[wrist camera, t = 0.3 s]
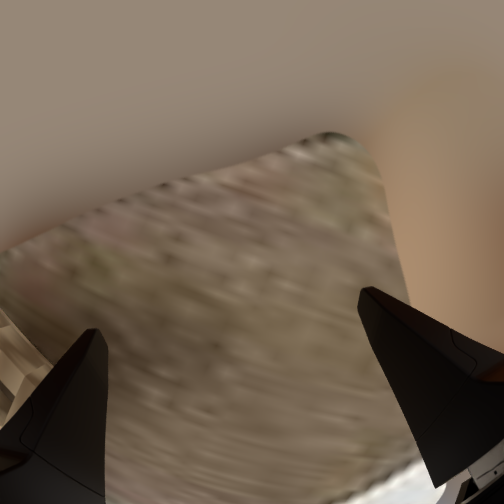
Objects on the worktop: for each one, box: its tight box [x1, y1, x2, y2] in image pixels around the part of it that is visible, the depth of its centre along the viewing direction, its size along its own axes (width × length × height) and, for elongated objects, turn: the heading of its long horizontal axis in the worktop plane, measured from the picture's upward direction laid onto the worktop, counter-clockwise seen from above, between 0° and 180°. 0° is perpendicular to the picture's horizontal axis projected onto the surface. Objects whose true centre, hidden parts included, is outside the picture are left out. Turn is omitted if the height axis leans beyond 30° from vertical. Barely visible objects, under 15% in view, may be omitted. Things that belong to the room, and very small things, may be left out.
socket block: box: [0, 308, 54, 429], centre depth 19 cm, size 11×11×4 cm
